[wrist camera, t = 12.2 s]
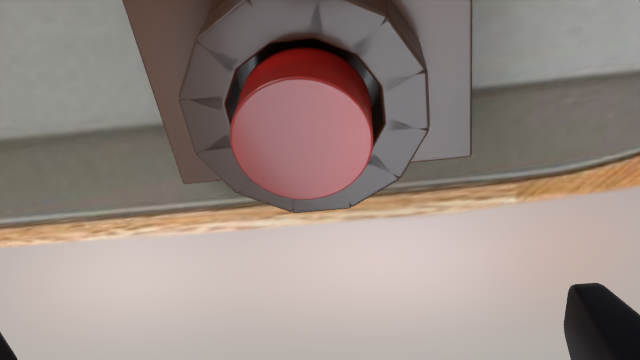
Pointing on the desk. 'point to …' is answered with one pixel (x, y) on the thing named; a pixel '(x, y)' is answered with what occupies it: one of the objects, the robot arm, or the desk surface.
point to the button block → (322, 33)
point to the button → (303, 124)
